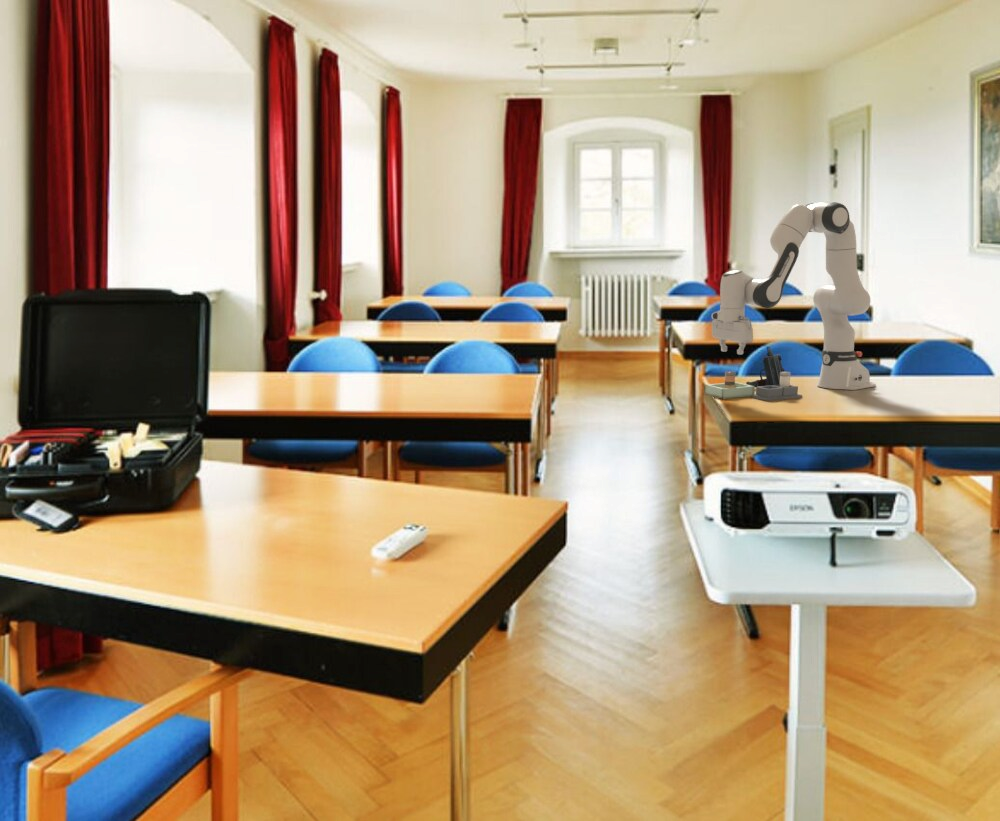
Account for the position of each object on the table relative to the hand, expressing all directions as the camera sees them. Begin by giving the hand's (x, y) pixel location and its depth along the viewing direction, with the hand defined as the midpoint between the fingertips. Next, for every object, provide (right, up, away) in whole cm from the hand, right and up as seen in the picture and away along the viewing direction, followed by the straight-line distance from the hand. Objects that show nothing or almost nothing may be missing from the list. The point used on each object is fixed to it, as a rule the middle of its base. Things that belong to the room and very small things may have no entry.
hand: (732, 352), depth 375 cm
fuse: (+19, -15, -2) cm, 24 cm away
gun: (+16, -14, +13) cm, 25 cm away
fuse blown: (0, -15, +3) cm, 15 cm away
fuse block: (+16, -16, -3) cm, 23 cm away
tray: (0, -16, +3) cm, 16 cm away
